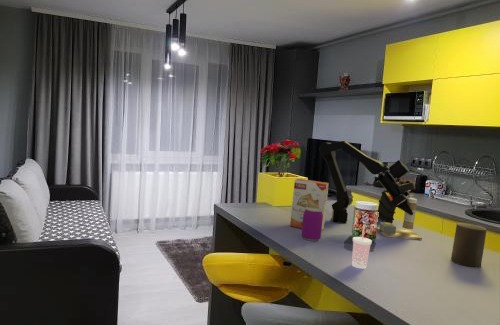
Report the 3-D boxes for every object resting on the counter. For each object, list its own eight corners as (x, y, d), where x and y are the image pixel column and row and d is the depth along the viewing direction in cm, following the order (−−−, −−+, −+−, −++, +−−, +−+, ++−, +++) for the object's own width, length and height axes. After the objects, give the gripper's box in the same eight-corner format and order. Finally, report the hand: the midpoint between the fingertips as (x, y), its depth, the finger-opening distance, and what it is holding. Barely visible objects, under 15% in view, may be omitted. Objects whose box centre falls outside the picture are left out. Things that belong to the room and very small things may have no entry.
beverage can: (298, 238, 157) (301, 208, 155) (304, 234, 163) (307, 205, 162) (316, 242, 153) (320, 212, 152) (323, 238, 160) (326, 209, 159)
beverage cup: (365, 271, 127) (370, 228, 125) (347, 266, 130) (351, 224, 129) (371, 266, 132) (376, 224, 131) (352, 261, 135) (357, 221, 134)
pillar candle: (470, 268, 138) (476, 226, 136) (445, 259, 146) (451, 219, 145) (487, 266, 142) (493, 225, 141) (461, 257, 151) (467, 218, 149)
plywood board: (384, 236, 171) (384, 234, 171) (376, 229, 183) (376, 227, 183) (421, 240, 170) (422, 237, 170) (411, 232, 182) (411, 230, 182)
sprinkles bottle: (404, 226, 179) (408, 197, 178) (414, 229, 176) (419, 199, 175) (400, 227, 176) (404, 197, 175) (410, 229, 173) (415, 199, 172)
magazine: (379, 213, 212) (389, 190, 205) (390, 229, 201) (400, 206, 193) (373, 212, 211) (382, 189, 204) (383, 229, 200) (393, 205, 193)
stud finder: (383, 232, 173) (384, 225, 173) (379, 228, 180) (380, 221, 180) (395, 233, 173) (396, 226, 173) (390, 229, 180) (391, 222, 180)
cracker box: (289, 226, 174) (294, 179, 172) (293, 223, 180) (297, 178, 177) (321, 232, 169) (326, 183, 167) (324, 229, 174) (329, 182, 172)
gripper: (402, 176, 167) (427, 206, 164) (407, 172, 184) (430, 200, 180) (381, 191, 172) (404, 221, 168) (387, 186, 188) (409, 214, 185)
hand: (413, 213), depth 175 cm, fingers closed on sprinkles bottle, 4 cm apart
